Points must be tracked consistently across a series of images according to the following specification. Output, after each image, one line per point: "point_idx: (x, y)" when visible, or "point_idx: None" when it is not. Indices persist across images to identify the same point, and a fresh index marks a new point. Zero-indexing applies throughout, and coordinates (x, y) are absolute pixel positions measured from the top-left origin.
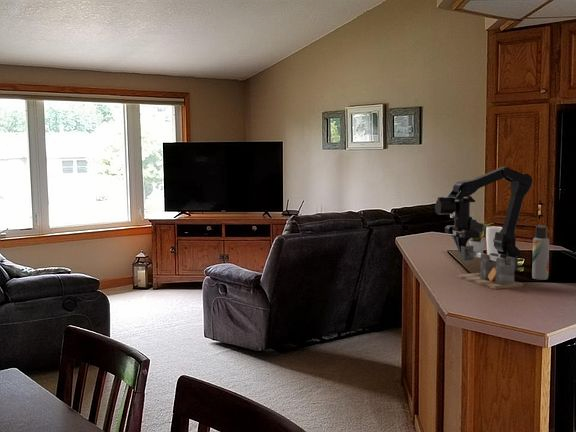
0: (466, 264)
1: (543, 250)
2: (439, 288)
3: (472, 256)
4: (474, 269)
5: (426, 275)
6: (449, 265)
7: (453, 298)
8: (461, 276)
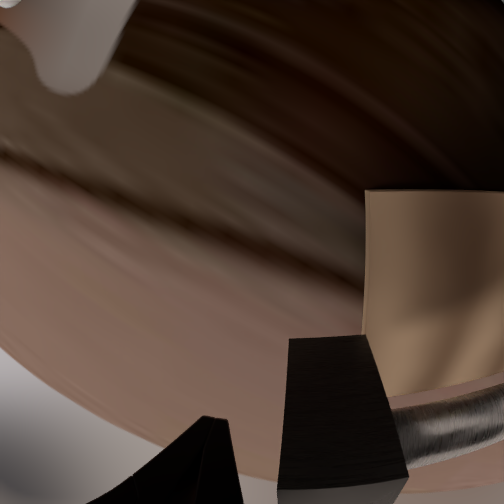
0: (12, 125)
1: None
2: (457, 477)
3: (373, 368)
4: (137, 137)
5: (243, 463)
6: (16, 231)
7: None
8: (398, 393)
